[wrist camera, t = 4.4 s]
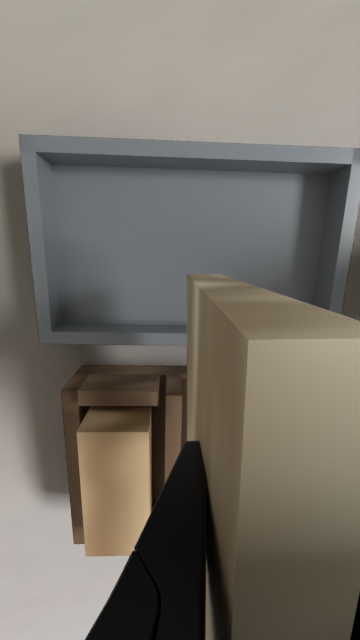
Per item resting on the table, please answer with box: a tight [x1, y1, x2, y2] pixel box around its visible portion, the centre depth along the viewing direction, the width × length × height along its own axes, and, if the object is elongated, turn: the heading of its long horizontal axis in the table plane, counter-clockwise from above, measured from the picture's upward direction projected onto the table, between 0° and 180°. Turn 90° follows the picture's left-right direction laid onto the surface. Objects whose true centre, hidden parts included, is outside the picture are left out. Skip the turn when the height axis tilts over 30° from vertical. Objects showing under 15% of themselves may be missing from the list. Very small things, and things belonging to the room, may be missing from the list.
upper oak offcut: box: [77, 410, 151, 556], centre depth 17 cm, size 4×9×2 cm, turn 179°
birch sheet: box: [187, 274, 360, 640], centre depth 8 cm, size 2×9×10 cm, turn 0°
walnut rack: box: [61, 366, 187, 544], centre depth 20 cm, size 12×12×4 cm
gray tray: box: [18, 134, 360, 346], centre depth 17 cm, size 19×12×3 cm, turn 89°
